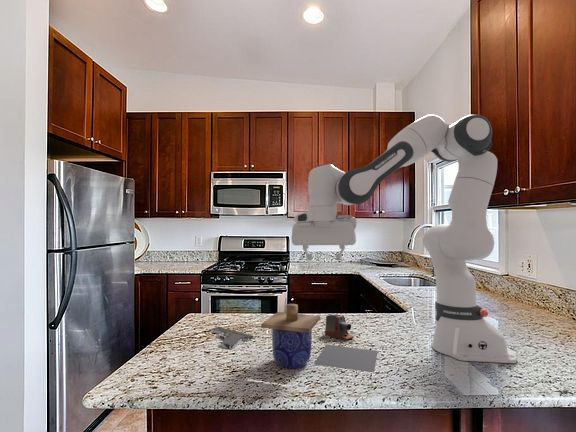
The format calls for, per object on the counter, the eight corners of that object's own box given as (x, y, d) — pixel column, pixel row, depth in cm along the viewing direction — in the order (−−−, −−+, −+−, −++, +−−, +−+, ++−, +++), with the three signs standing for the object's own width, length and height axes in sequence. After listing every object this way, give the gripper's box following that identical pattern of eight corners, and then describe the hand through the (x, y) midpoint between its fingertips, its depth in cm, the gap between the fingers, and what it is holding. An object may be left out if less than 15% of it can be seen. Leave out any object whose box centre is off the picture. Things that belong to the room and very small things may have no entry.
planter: (266, 359, 95) (266, 320, 96) (301, 354, 99) (301, 316, 100) (280, 375, 85) (280, 331, 86) (318, 368, 89) (318, 326, 90)
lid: (320, 319, 97) (320, 301, 97) (308, 332, 84) (309, 312, 85) (277, 315, 101) (277, 298, 101) (261, 327, 88) (261, 308, 89)
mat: (377, 352, 101) (377, 350, 102) (374, 373, 86) (374, 372, 86) (325, 345, 107) (325, 344, 107) (313, 365, 91) (313, 364, 91)
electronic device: (346, 343, 110) (346, 319, 110) (324, 336, 117) (324, 314, 117) (354, 340, 113) (354, 317, 113) (332, 333, 120) (332, 312, 120)
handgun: (192, 339, 114) (218, 330, 124) (231, 351, 103) (257, 340, 113) (192, 334, 114) (218, 326, 124) (231, 345, 103) (257, 335, 113)
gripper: (357, 215, 106) (358, 258, 105) (295, 217, 112) (296, 258, 111) (355, 214, 100) (356, 261, 99) (289, 216, 106) (290, 260, 105)
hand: (324, 259), depth 105 cm, fingers open, 8 cm apart
